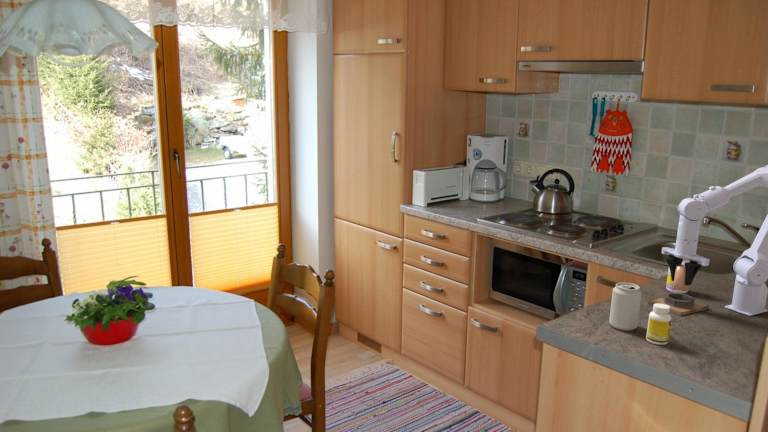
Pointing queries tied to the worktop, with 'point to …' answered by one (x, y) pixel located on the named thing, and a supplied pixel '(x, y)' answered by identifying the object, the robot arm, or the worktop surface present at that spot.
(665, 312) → the supplement bottle
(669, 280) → the supplement bottle
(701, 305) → the octagonal holder plate
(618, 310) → the can
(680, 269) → the peach rounded peg
